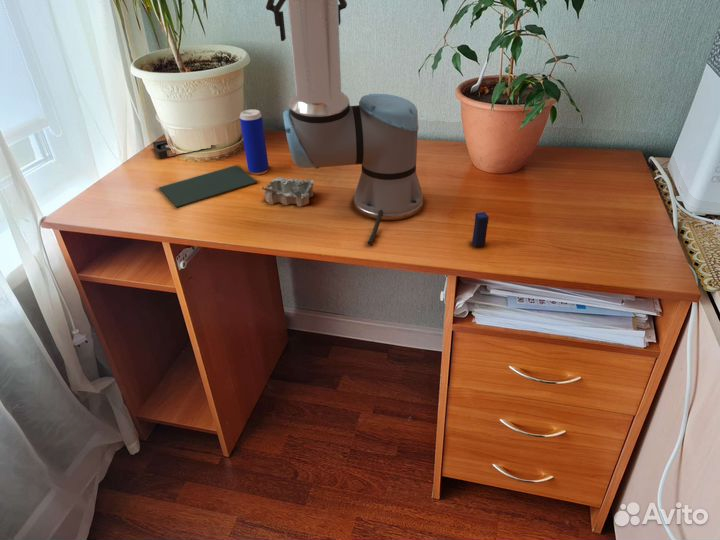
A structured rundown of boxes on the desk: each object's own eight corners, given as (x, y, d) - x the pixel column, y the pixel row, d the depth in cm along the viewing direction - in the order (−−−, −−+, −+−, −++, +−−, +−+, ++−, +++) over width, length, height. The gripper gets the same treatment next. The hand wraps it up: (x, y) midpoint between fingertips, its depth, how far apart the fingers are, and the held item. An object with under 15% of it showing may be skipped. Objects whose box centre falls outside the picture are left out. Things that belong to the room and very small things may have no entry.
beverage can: (272, 167, 134) (264, 109, 125) (264, 176, 130) (256, 116, 121) (253, 165, 135) (244, 108, 126) (245, 174, 131) (235, 115, 122)
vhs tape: (159, 159, 140) (157, 152, 139) (154, 149, 146) (152, 142, 145) (212, 148, 145) (210, 141, 144) (205, 139, 151) (203, 132, 150)
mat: (236, 166, 135) (235, 165, 134) (257, 183, 127) (256, 181, 126) (159, 188, 125) (159, 187, 125) (176, 207, 117) (176, 206, 117)
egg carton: (261, 204, 118) (259, 187, 116) (274, 189, 124) (272, 173, 122) (306, 208, 116) (304, 191, 113) (317, 193, 122) (315, 177, 119)
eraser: (482, 241, 103) (485, 210, 99) (485, 247, 101) (489, 216, 97) (471, 242, 103) (474, 211, 99) (474, 248, 101) (478, 217, 97)
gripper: (355, -60, 126) (358, 35, 138) (253, -57, 127) (265, 37, 140) (353, -58, 120) (356, 41, 132) (246, -55, 121) (258, 43, 133)
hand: (309, 39), depth 136 cm, fingers open, 13 cm apart
